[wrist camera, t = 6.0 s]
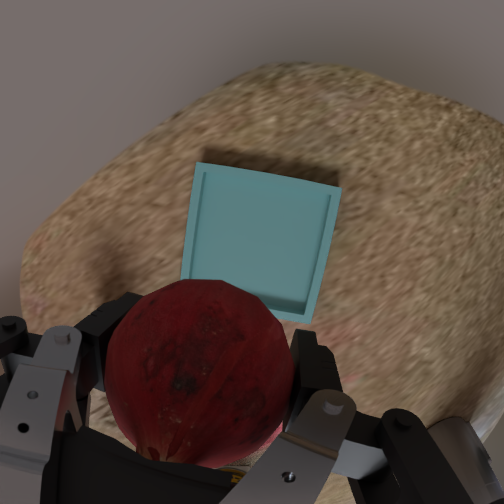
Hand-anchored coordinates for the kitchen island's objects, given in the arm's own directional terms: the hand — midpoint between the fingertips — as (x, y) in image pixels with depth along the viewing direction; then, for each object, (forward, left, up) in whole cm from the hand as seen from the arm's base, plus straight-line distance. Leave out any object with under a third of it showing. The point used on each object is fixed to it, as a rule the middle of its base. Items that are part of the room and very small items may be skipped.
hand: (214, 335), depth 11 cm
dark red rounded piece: (0, 0, -1) cm, 1 cm away
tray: (0, 0, -18) cm, 18 cm away
